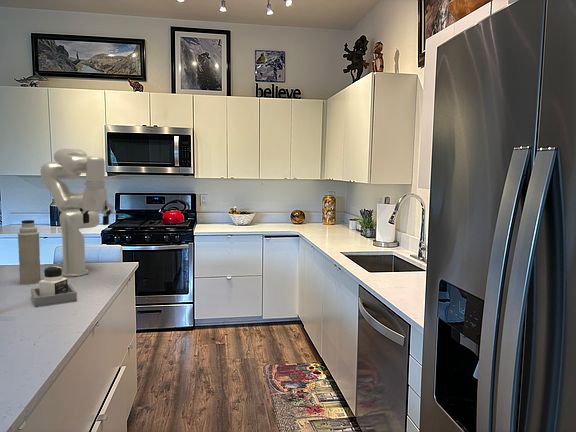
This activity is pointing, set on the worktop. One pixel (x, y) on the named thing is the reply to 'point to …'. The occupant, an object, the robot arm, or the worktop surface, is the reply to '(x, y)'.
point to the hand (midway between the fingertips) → (95, 223)
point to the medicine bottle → (53, 282)
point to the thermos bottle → (29, 253)
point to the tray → (53, 297)
